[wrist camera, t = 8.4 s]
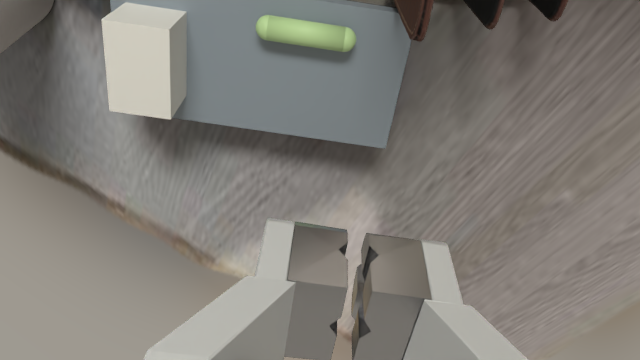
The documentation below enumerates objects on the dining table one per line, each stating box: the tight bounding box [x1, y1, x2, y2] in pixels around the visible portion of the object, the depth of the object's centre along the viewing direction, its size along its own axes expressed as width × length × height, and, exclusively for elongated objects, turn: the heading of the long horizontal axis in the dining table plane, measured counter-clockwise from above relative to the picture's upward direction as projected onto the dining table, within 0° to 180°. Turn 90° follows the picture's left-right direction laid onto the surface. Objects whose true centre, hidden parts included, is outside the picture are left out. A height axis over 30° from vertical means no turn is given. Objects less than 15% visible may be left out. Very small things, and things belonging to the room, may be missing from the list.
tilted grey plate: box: [102, 0, 411, 149], centre depth 35 cm, size 10×20×5 cm, turn 82°
